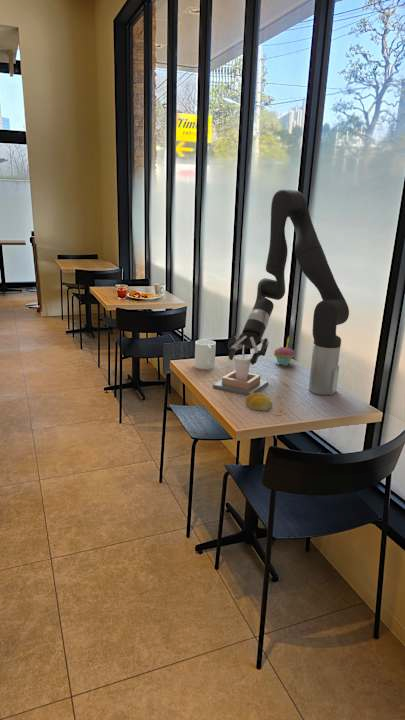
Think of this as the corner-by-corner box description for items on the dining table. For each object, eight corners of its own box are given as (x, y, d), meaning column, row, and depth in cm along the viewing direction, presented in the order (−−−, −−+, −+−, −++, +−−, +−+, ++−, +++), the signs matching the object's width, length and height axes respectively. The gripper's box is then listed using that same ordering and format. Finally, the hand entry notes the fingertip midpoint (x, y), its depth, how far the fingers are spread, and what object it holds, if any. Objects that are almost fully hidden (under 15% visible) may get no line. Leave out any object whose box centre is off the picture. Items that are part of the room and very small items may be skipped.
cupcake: (281, 359, 209) (284, 332, 206) (297, 364, 203) (300, 336, 200) (269, 363, 204) (271, 335, 200) (285, 368, 198) (287, 340, 194)
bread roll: (253, 412, 154) (254, 401, 152) (241, 402, 162) (242, 391, 160) (276, 410, 157) (277, 398, 155) (263, 399, 165) (264, 388, 163)
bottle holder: (268, 384, 179) (268, 374, 178) (251, 396, 166) (251, 386, 165) (231, 376, 186) (232, 367, 185) (212, 387, 173) (213, 377, 172)
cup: (199, 372, 188) (200, 348, 185) (192, 363, 199) (193, 339, 196) (220, 371, 191) (221, 347, 188) (211, 362, 202) (212, 339, 199)
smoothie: (250, 380, 179) (252, 343, 174) (249, 386, 172) (252, 348, 168) (232, 379, 179) (234, 342, 175) (232, 385, 173) (234, 347, 169)
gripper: (236, 315, 178) (220, 352, 172) (272, 321, 172) (256, 359, 166) (241, 326, 184) (226, 362, 178) (276, 332, 178) (261, 370, 172)
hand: (241, 361), depth 172 cm, fingers open, 8 cm apart
